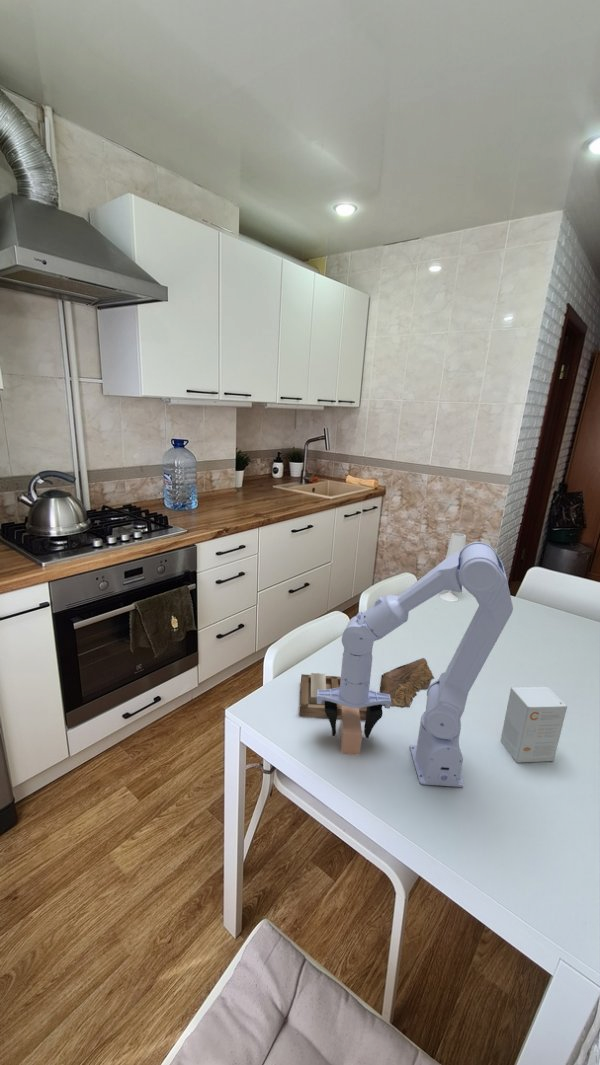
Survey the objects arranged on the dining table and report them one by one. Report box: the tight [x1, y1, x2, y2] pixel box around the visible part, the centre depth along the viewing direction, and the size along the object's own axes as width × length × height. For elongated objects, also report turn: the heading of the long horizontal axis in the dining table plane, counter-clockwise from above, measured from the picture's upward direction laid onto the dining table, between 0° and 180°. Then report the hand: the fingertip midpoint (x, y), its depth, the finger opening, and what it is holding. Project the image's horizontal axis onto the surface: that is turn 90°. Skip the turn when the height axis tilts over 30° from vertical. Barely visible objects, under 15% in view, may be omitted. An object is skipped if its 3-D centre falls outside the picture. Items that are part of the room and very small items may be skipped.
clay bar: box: [339, 706, 363, 756], centre depth 91 cm, size 8×4×5 cm, turn 177°
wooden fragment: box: [379, 657, 435, 708], centre depth 112 cm, size 26×11×1 cm, turn 140°
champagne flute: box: [439, 532, 467, 603], centre depth 160 cm, size 7×7×24 cm
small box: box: [500, 686, 568, 763], centre depth 89 cm, size 8×6×13 cm
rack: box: [299, 672, 367, 721], centre depth 103 cm, size 16×12×4 cm
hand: (350, 733), depth 91 cm, fingers open, 6 cm apart
